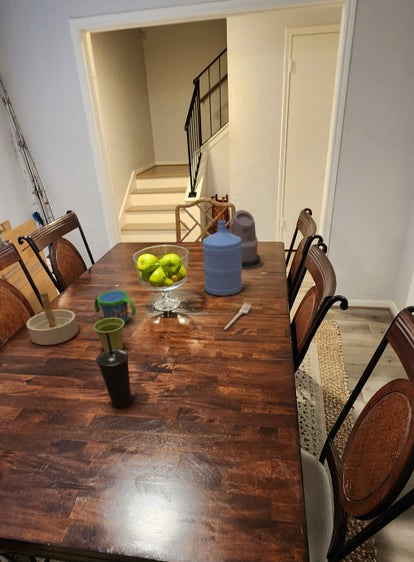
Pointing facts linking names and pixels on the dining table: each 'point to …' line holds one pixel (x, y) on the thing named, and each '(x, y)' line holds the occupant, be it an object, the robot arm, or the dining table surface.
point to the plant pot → (110, 332)
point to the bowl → (52, 335)
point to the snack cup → (115, 305)
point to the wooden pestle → (48, 310)
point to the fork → (239, 314)
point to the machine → (246, 238)
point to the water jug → (222, 262)
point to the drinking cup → (115, 374)
